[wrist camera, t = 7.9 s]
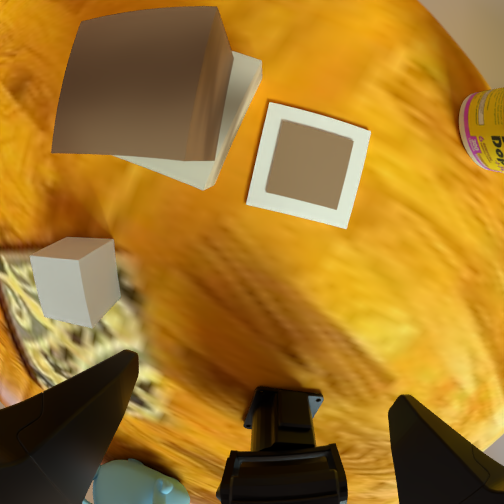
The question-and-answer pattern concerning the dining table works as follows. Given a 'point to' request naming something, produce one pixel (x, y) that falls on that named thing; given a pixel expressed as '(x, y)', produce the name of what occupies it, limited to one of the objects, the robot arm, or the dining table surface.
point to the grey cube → (76, 279)
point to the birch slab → (236, 104)
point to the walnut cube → (146, 85)
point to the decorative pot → (135, 485)
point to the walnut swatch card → (308, 165)
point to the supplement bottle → (484, 128)
